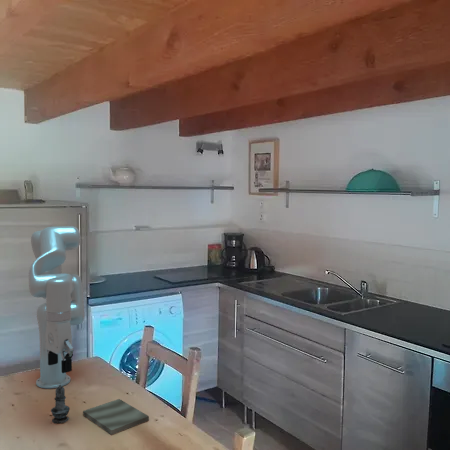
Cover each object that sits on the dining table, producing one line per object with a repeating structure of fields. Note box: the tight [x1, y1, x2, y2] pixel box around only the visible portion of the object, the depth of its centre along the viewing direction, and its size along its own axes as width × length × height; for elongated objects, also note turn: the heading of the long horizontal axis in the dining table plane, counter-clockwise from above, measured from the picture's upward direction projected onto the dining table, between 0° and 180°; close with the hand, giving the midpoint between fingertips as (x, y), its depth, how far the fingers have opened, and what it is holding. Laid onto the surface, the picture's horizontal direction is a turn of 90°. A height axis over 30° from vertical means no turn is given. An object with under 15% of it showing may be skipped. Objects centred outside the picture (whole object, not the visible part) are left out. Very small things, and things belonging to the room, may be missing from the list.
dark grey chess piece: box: [50, 385, 70, 425], centre depth 163 cm, size 6×6×12 cm
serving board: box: [82, 398, 150, 436], centre depth 165 cm, size 18×14×2 cm
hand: (59, 368), depth 161 cm, fingers open, 9 cm apart
